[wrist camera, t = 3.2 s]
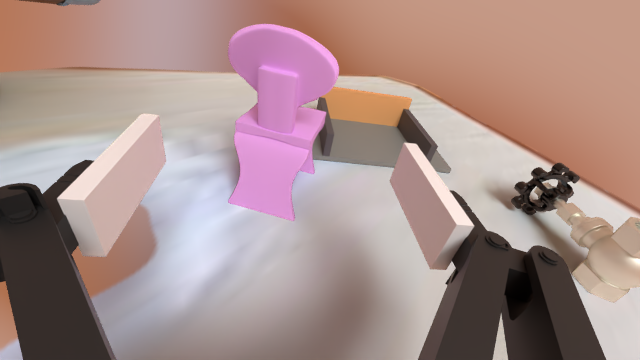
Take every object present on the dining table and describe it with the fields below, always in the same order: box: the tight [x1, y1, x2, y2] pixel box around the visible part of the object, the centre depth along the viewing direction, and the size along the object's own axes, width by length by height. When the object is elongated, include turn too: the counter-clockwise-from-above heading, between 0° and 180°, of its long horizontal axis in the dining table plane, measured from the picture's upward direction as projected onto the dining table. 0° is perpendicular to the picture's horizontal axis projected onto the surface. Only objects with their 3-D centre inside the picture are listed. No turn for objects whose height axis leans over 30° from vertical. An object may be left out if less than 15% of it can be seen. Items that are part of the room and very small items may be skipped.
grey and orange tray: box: [312, 87, 451, 173], centre depth 40 cm, size 20×13×5 cm, turn 95°
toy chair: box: [228, 24, 339, 221], centre depth 26 cm, size 8×9×15 cm
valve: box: [511, 163, 640, 303], centre depth 28 cm, size 7×7×12 cm
